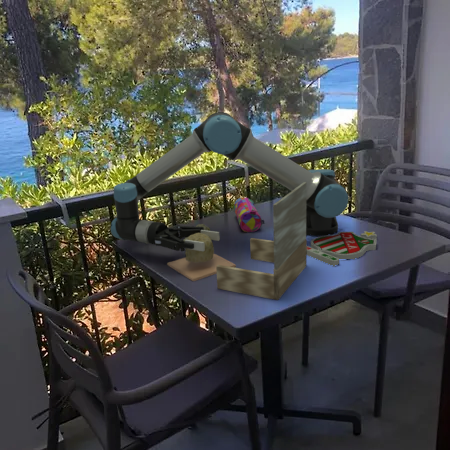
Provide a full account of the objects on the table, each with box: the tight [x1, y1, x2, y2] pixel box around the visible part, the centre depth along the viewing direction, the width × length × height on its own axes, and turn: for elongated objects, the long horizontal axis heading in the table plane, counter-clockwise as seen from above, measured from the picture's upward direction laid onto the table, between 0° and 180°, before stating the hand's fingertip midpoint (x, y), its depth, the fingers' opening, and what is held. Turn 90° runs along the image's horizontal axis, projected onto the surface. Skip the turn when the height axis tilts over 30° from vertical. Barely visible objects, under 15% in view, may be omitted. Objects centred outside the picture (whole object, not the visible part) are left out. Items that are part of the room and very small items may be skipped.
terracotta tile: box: [166, 253, 237, 282], centre depth 152 cm, size 16×16×1 cm
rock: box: [182, 223, 211, 242], centre depth 172 cm, size 11×6×10 cm
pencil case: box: [233, 197, 266, 233], centre depth 188 cm, size 22×9×9 cm, turn 8°
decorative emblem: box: [307, 230, 378, 267], centre depth 162 cm, size 19×2×30 cm
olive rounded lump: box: [184, 233, 215, 263], centre depth 150 cm, size 9×10×10 cm
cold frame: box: [216, 182, 308, 301], centre depth 138 cm, size 19×24×27 cm
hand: (211, 241), depth 147 cm, fingers closed on olive rounded lump, 9 cm apart
